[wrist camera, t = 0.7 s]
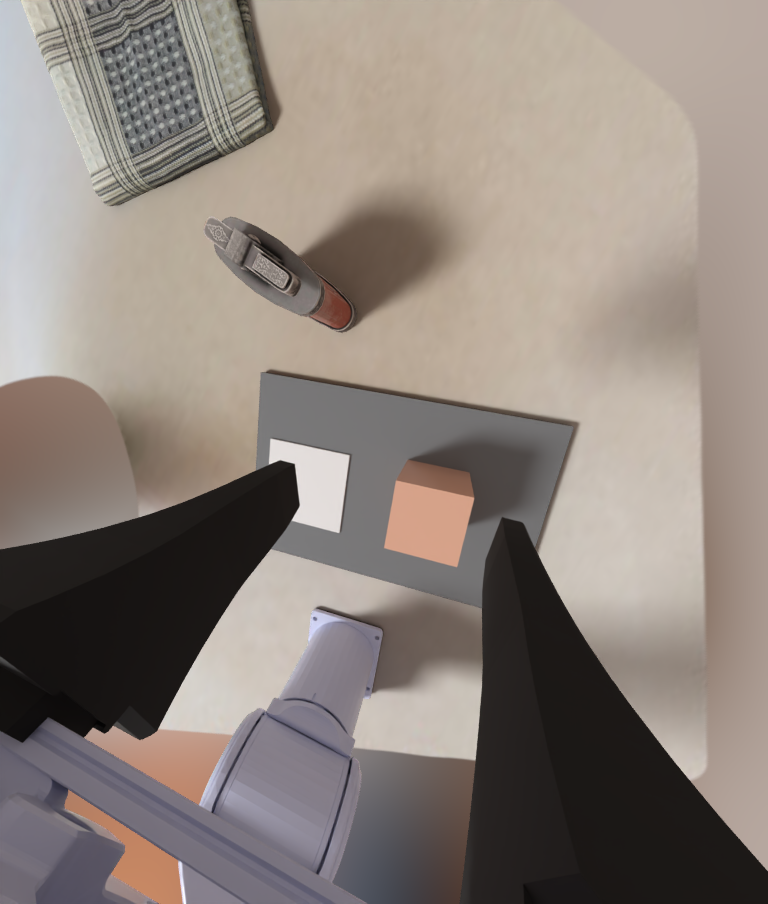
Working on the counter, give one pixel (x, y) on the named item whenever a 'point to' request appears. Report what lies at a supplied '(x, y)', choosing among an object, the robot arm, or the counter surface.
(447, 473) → the copper orange block
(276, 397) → the mat
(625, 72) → the counter surface
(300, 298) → the lighter
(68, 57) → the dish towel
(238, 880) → the robot arm
